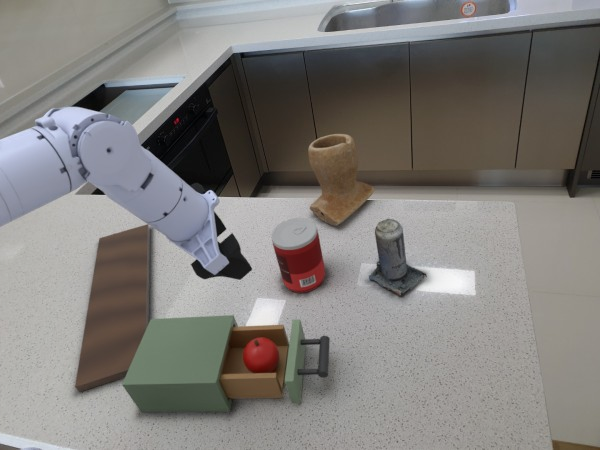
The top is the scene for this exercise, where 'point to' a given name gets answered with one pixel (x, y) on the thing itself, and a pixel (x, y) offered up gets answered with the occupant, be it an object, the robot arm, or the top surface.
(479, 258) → the top surface
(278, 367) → the drawer
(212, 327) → the cabinet
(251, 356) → the apple
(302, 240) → the canned food
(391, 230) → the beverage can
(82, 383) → the board
